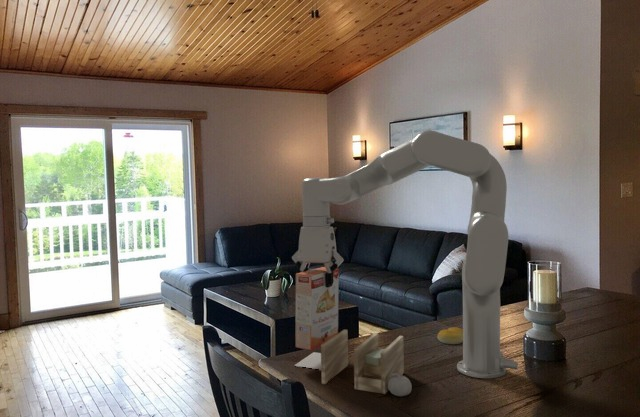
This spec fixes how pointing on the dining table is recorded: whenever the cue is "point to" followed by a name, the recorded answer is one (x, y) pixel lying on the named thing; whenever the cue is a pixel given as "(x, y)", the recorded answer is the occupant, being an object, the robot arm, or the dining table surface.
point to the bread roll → (451, 336)
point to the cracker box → (315, 308)
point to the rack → (361, 361)
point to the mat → (311, 361)
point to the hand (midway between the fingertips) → (317, 285)
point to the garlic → (399, 385)
